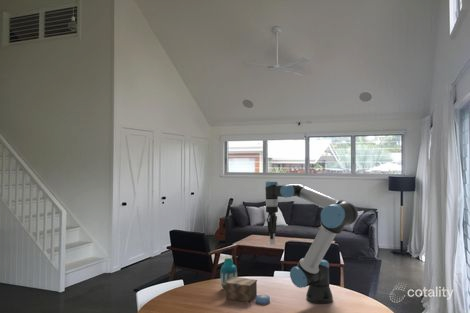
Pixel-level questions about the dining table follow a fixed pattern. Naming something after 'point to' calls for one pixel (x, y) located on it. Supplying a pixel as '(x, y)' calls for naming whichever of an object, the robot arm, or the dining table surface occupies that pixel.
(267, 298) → the blue beige round disc
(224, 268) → the vase
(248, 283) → the lid
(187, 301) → the dining table surface
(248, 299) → the box
